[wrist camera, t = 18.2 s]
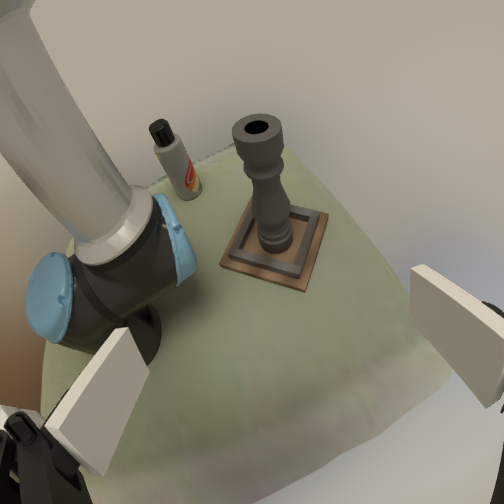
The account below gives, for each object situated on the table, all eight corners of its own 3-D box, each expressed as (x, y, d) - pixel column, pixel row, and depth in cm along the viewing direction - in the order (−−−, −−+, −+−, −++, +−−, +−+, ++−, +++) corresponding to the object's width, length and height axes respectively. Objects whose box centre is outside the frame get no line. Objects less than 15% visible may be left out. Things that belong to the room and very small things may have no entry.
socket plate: (220, 266, 51) (216, 258, 49) (252, 199, 58) (250, 190, 55) (304, 292, 46) (305, 285, 44) (328, 217, 53) (329, 207, 50)
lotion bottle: (207, 184, 62) (177, 115, 44) (193, 203, 60) (158, 134, 42) (187, 179, 64) (156, 113, 46) (174, 197, 62) (137, 132, 44)
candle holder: (292, 255, 49) (282, 143, 27) (257, 253, 50) (224, 145, 28) (294, 225, 52) (285, 111, 30) (261, 224, 53) (234, 113, 31)
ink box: (41, 447, 36) (4, 446, 26) (30, 436, 38) (-6, 432, 27) (46, 420, 40) (8, 416, 29) (34, 409, 41) (-2, 403, 31)
